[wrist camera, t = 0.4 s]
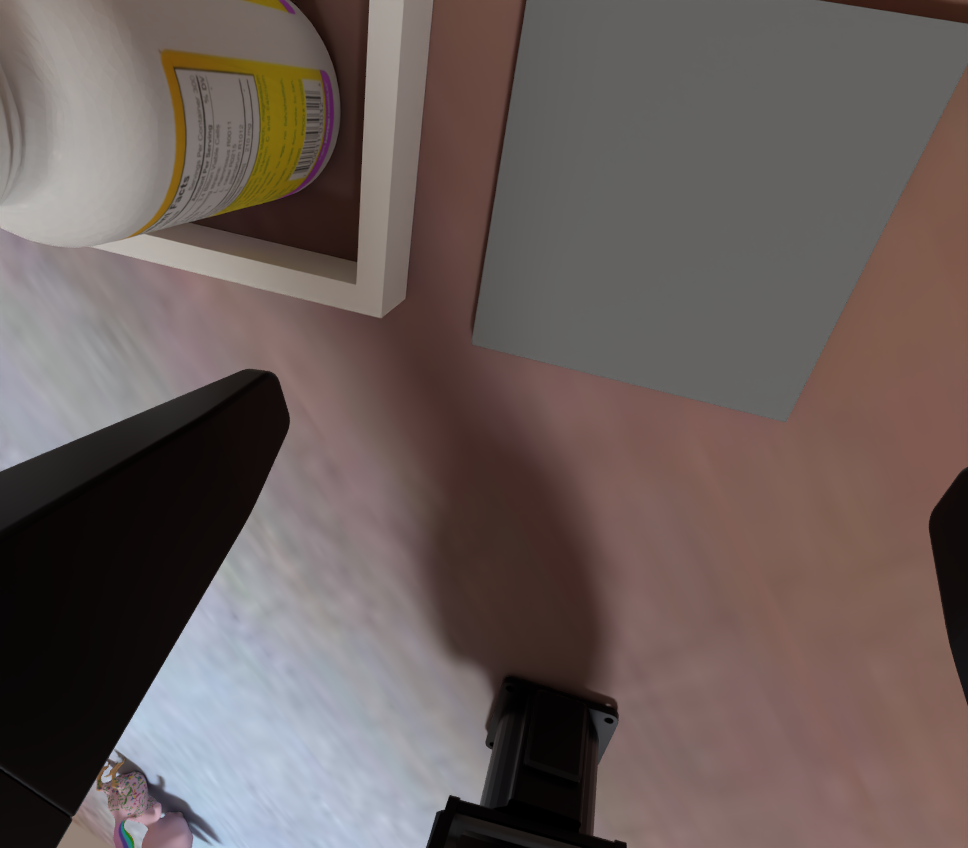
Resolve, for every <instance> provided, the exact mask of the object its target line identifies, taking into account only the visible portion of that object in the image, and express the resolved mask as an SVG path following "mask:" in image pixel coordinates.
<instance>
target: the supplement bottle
mask: <svg viewBox="0 0 968 848" xmlns="http://www.w3.org/2000/svg"><path fill="white" fill-rule="evenodd" d="M339 126H340V94H339V88H338V83H337V78H336V74H335V71H334V67H333V64H332V61H331V59H330V56H329V54H328V51H327V49H326V47H325V45H324V43H323V41H322V39H321V38H320V36H319V34H318V33H317V31H316V29H315V28H314V26H313V25H312V23H311V22H310V21H309V20H308V18H307V17H306V16H305V15H304V14H303V13H302V12H301V11H300V9H299V8H298V7H297V6H296V5H295V4H293V3H292V2H291V1H290V0H0V228H2V229H4V230H6V231H8V232H11V233H13V234H15V235H18V236H20V237H23V238H25V239H28V240H31V241H34V242H39V243H43V244H47V245H53V246H59V247H89V246H96V245H101V244H105V243H109V242H115V241H119V240H123V239H127V238H131V237H134V236H138V235H141V234H145V233H149V232H153V231H156V230H160V229H164V228H168V227H172V226H176V225H179V224H183V223H188V222H192V221H195V220H200V219H203V218H208V217H212V216H216V215H220V214H223V213H227V212H230V211H234V210H238V209H242V208H246V207H250V206H254V205H258V204H262V203H266V202H269V201H273V200H277V199H280V198H283V197H286V196H289V195H291V194H294V193H297V192H299V191H300V190H302V189H303V188H305V187H306V186H308V185H309V184H310V183H312V182H313V181H314V180H315V179H316V178H317V177H318V176H319V174H320V173H321V172H322V171H323V169H324V168H325V166H326V165H327V163H328V161H329V159H330V157H331V155H332V153H333V150H334V148H335V145H336V141H337V137H338V132H339Z"/></svg>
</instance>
